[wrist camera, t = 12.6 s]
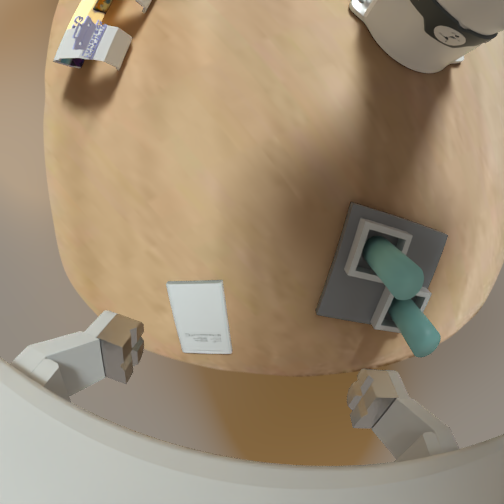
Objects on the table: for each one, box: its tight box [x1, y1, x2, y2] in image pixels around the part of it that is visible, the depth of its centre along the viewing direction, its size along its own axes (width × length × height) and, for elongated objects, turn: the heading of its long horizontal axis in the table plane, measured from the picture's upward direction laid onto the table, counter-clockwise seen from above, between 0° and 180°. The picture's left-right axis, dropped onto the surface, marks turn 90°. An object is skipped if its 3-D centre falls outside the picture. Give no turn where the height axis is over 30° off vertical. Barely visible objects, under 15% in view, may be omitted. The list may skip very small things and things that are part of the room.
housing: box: [316, 202, 448, 357], centre depth 31 cm, size 16×16×11 cm
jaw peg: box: [362, 236, 424, 300], centre depth 29 cm, size 4×4×10 cm
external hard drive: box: [166, 280, 232, 354], centre depth 40 cm, size 2×8×12 cm
